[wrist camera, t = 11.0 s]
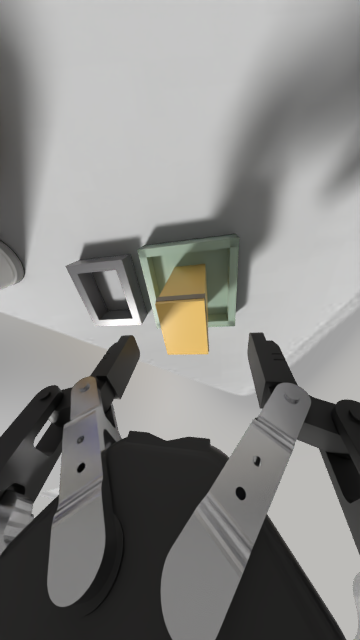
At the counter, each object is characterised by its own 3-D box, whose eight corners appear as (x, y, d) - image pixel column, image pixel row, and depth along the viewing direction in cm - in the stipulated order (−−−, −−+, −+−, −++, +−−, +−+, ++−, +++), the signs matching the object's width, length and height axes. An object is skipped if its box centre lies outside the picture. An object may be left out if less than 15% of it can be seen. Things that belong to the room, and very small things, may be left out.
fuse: (205, 263, 19) (205, 299, 11) (208, 303, 22) (208, 354, 14) (174, 266, 19) (154, 303, 12) (180, 305, 22) (167, 354, 15)
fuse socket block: (130, 254, 20) (121, 259, 18) (147, 314, 25) (141, 324, 23) (79, 260, 21) (65, 265, 19) (104, 316, 26) (95, 326, 24)
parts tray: (235, 233, 18) (239, 237, 16) (232, 315, 23) (234, 326, 21) (144, 245, 19) (137, 250, 17) (161, 318, 25) (157, 328, 23)
